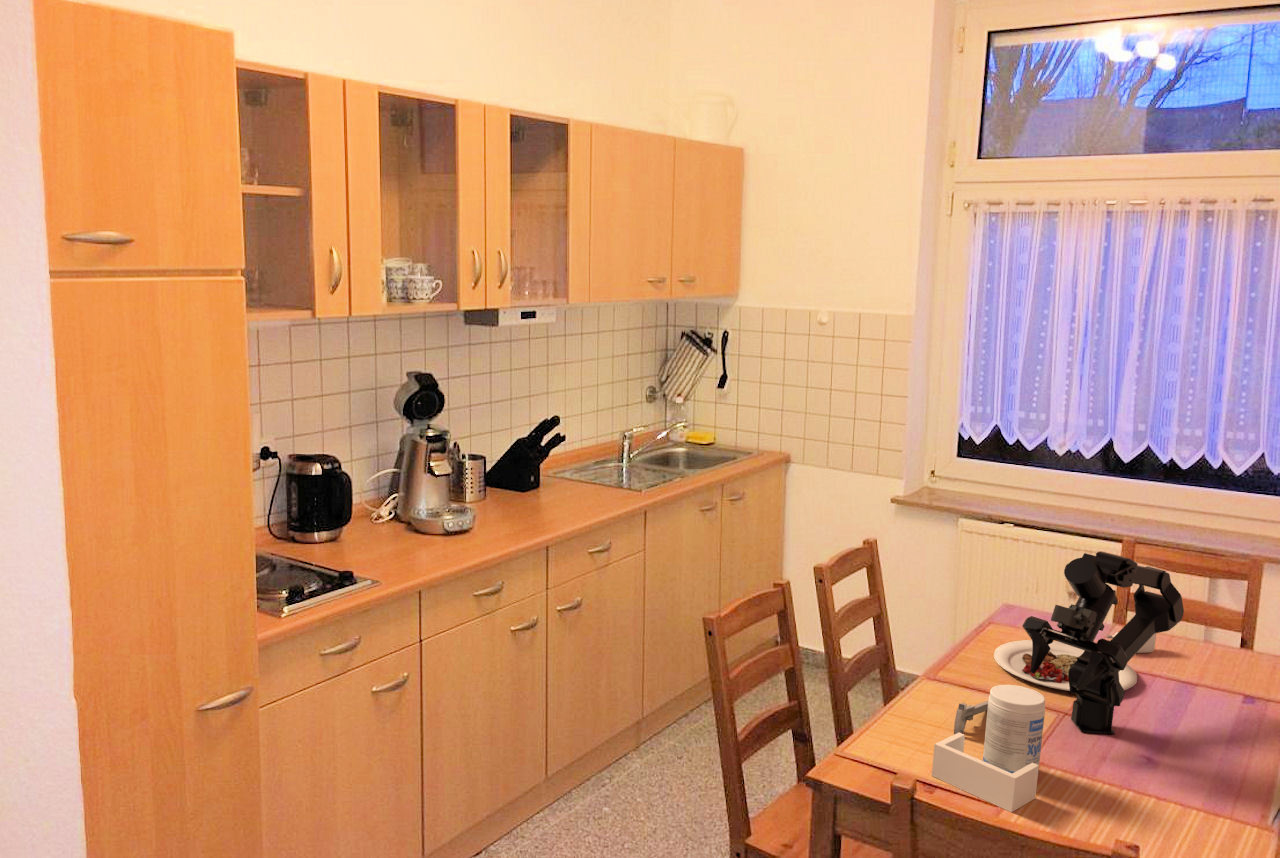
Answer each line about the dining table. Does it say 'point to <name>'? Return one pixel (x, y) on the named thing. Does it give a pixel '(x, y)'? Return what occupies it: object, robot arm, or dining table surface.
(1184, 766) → the dining table surface
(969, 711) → the caliper
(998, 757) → the supplement tub
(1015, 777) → the cradle
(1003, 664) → the plated food
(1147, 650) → the power adapter
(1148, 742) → the dining table surface
